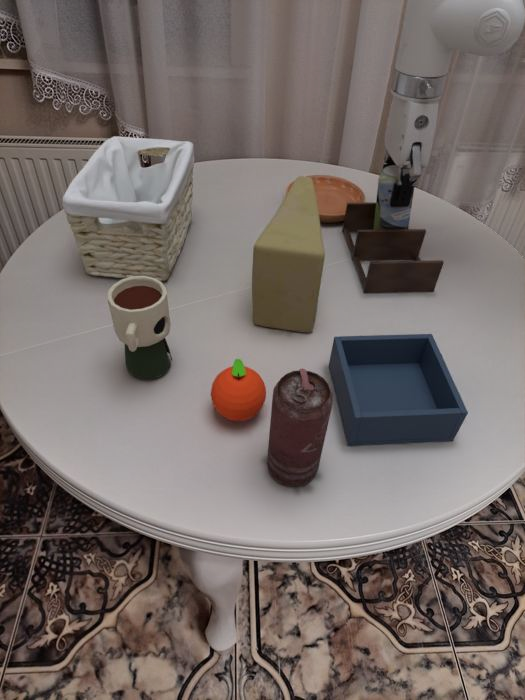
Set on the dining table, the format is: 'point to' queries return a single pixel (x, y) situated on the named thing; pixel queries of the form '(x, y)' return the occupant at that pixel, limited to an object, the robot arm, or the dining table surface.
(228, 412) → the clementine
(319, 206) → the saucer
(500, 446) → the dining table surface
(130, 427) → the dining table surface
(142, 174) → the basket
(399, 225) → the beverage can
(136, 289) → the character mug
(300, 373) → the can
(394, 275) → the drying rack
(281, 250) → the cheese
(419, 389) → the open square box
